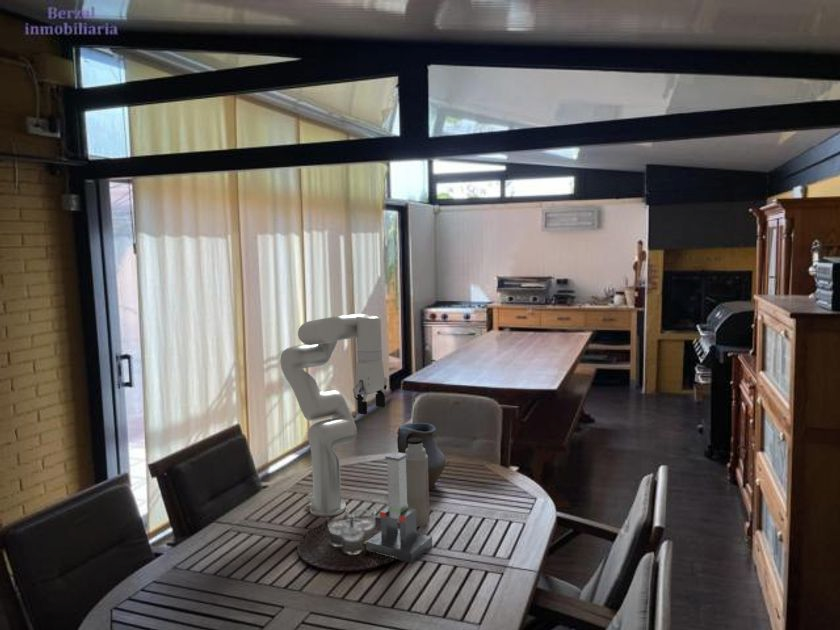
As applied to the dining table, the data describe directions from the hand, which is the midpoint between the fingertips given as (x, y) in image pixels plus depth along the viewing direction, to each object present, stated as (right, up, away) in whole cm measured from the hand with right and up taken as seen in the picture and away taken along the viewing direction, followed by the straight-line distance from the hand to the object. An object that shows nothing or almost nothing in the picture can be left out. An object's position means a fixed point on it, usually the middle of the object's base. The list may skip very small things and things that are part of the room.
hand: (371, 410), depth 196 cm
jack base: (+9, -41, -6) cm, 42 cm away
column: (+9, -31, -7) cm, 33 cm away
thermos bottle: (+14, -39, +13) cm, 43 cm away
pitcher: (+15, -36, +42) cm, 57 cm away
